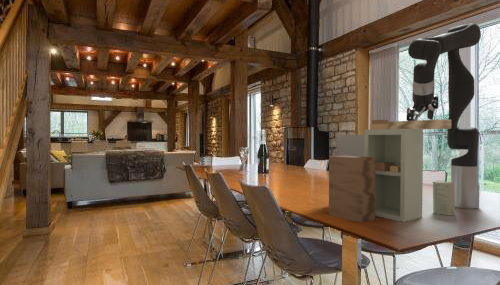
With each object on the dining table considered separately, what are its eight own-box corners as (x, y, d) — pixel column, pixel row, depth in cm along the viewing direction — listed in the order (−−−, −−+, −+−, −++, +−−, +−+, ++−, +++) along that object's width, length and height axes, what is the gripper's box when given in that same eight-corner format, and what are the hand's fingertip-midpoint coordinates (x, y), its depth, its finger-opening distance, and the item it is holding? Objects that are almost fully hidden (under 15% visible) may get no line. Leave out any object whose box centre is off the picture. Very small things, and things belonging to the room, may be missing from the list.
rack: (382, 209, 131) (382, 121, 131) (422, 217, 118) (423, 119, 118) (363, 213, 125) (364, 120, 124) (404, 222, 111) (405, 118, 111)
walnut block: (342, 211, 127) (343, 155, 126) (374, 219, 115) (375, 157, 115) (328, 214, 122) (329, 156, 122) (360, 222, 111) (361, 158, 110)
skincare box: (454, 214, 123) (455, 182, 123) (449, 216, 121) (450, 183, 120) (437, 211, 128) (437, 180, 128) (432, 212, 126) (432, 181, 125)
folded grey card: (369, 204, 141) (370, 135, 140) (373, 207, 135) (374, 135, 135) (336, 203, 142) (336, 135, 142) (338, 206, 137) (338, 135, 136)
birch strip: (374, 129, 128) (374, 122, 128) (380, 130, 130) (380, 122, 130) (445, 128, 107) (445, 119, 106) (451, 128, 109) (451, 119, 109)
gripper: (429, 79, 131) (427, 112, 141) (401, 93, 129) (401, 126, 138) (445, 84, 125) (442, 119, 135) (416, 100, 123) (416, 134, 132)
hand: (422, 123), depth 136 cm, fingers open, 8 cm apart
